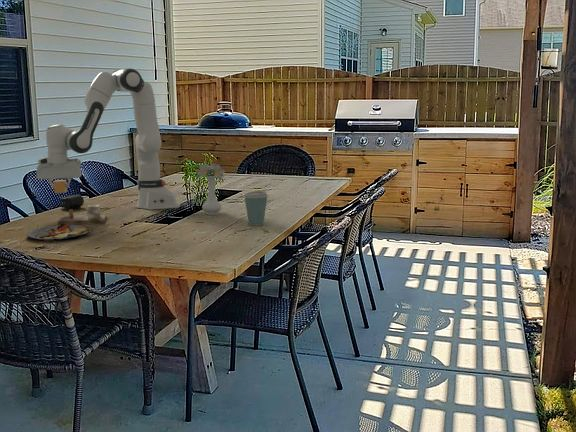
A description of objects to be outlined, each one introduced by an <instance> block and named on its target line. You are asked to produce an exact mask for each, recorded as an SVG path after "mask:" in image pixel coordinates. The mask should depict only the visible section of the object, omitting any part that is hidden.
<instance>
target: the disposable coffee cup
mask: <svg viewBox="0 0 576 432" xmlns="http://www.w3.org/2000/svg"><path fill="white" fill-rule="evenodd" d="M243 198H244V203H245V209H246V214H247V215H246V216H247V219H248V225H249V226H253V227H257V226H263V225H264V223H265V216H266V208H267V199H268V194H267V191H264V190H255V191H250V192H249V191H248V192H246V193H244V195H243Z"/></svg>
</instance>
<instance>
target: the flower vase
mask: <svg viewBox="0 0 576 432" xmlns="http://www.w3.org/2000/svg"><path fill="white" fill-rule="evenodd" d="M225 173H226V170H224V169H223V168H221V165H220V164H218V163H217V164H216V163H211V164H210V165H208V164H207V163H206V162H205V163H204V164H199V169H197V170H196V175H197V177H196V180H199V179H202V178H203V177H204V176H205V177H206V178H207V182H208V183H207V185H208V190H207V193H208V194H207V198H206V199H205V201H204V203H203V204H202V207H201V208H202V210H203V212H205V215H207V216H215V215H219V213H220V211H221V210H222V205H221V203H220V202H219V201H218V199H217V197H216V190H215V189H216V188H215V187H216V186H215V184H216V181H215V180H216V178H217V179H218V180H220V181H221V180H222V179H223V178H224V176H225V175H224V174H225Z"/></svg>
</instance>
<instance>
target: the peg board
mask: <svg viewBox="0 0 576 432" xmlns="http://www.w3.org/2000/svg"><path fill="white" fill-rule="evenodd" d="M100 209H101V208H100V204H88V205H87V206H86V213H87V214H77V215H74V209H70V210H68V211H69V212H68V213H69V214H68V215H62V216H61V217H60V218H59V219H58V220H57V226H60V224H68V225H87V224H88V225H89V224H91V225H92V224H93V225H94V224H95V225H96V224H105V222H106V219H107V214H105V213H104V214H101V210H100Z"/></svg>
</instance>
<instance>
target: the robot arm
mask: <svg viewBox="0 0 576 432" xmlns="http://www.w3.org/2000/svg"><path fill="white" fill-rule="evenodd" d="M116 91H117V92H125V93H126V92H129V93H130V95H131V98H132V108H133V116H134V122H135V126H136V132H137V135H136V136H135V140H134V141H135V142H134V143H135V151H136V152H135V153H136V159H137V171H138V172H137V173H138V180H137V190H138V196H137V202H136V203H137V204H136V208H138V209H143V210H145V209H146V210H162V209H177V208H180V207H181V203H180V202H178V201H177V199H176V195H175V194H174V192H173V191H171V190H170V189H168V188H167V187H166V181H165V180H163V179H161V165H160V164H161V163H160V159H159V151H161V150H160V149H161V148H162V144H163V142H162V137H161V132H160V127H159V123H158V122H159V121H158V116H157V108H156V100H155V94H154V90H153V87H152V85H151V83H149V82H148V81H147V82H146V81H144V79H143V78H142V75H141V74H140V73H139V71H137V70H136V69H135V68H122V69H121V68H120V69H117V70H115V71H113V72H112V73H110V72H108V71H101V72H99V73H98V74H97V75H96V77H95V78H94V79H93V81H92V82H91V84H90V86H89V88H88V90H87V91H86V94H85V95H84V96H85V98H84V104H85V107H86V111H87V112H86V116H85V117H84V120H83V122H82V123H81V126H80V128H79V129H78V130H74V129H72V128H69V127H67V126H65V125H64V124H60V123H59V124H53V125H50V126H48V127H47V128H46V131H45V132H46V133H45V140H46V147H47V155H46V156H44V157H41V158H39V159H38V160H37V163H38V165H37V167H36V178H37V179H38V180H47V181H48V183H49V184H50V185H51V186H50V187H51V189H54V182H52V181H53V180H57V179H58V180H62V179H66V181H68V182H66V184H65V185H66V188H67V189H68V188H70V183H71V180H72V179H78V178H81V177H82V170H81V169H82V168H81V167H82V160H80V159H78V158H76V157H75V158H69V157H68V150H69V151H72V152H75V153H76V154H85V153H87V152H89V151H90V150H91V148H92V146H93V141H94V140H93V137H94V133H95V131H96V129H97V126H98V125H99V123H100V121H101V118H102V115H103V113H104V112H105V110H106V108H107V106H108V104H110V103H109V102H110V100H111V98H112V96H113V94H114V93H115V92H116Z"/></svg>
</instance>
